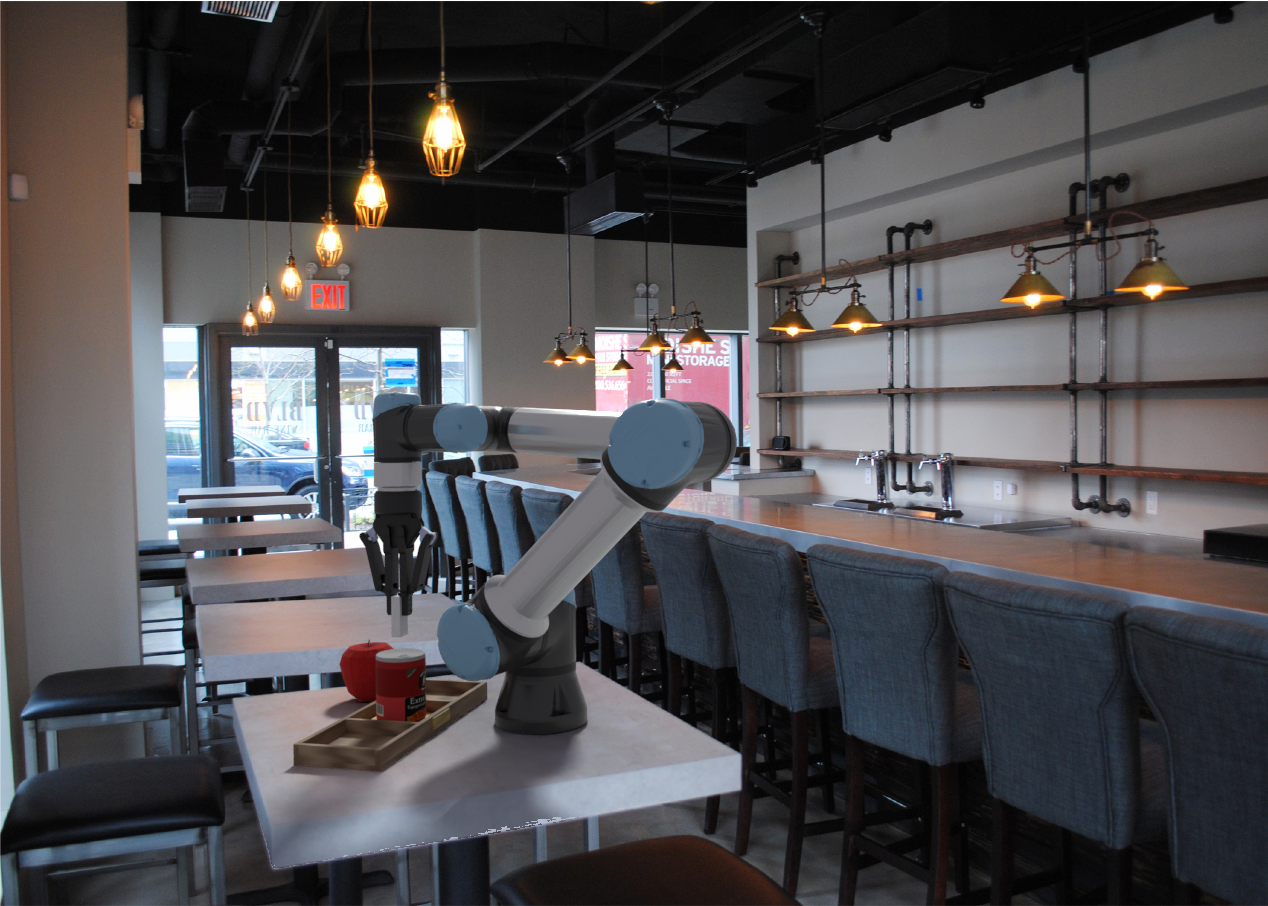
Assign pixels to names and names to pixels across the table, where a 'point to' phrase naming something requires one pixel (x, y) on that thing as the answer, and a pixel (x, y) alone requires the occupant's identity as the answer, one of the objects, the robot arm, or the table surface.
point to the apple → (361, 669)
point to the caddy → (387, 730)
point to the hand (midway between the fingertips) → (399, 635)
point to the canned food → (401, 685)
